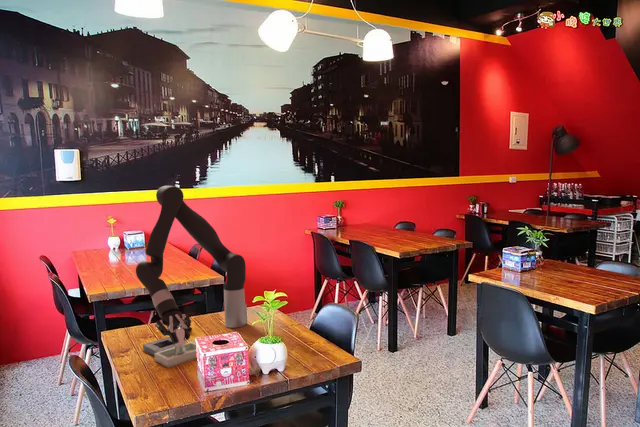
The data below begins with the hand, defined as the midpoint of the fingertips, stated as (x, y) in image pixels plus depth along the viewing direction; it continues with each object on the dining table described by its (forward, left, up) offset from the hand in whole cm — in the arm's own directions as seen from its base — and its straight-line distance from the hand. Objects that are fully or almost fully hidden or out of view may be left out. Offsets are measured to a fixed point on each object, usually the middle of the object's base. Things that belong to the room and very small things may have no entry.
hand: (182, 340), depth 180 cm
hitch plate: (0, -14, -7) cm, 16 cm away
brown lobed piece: (-15, -31, -8) cm, 36 cm away
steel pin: (0, -2, -6) cm, 7 cm away
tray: (0, -2, -7) cm, 8 cm away
